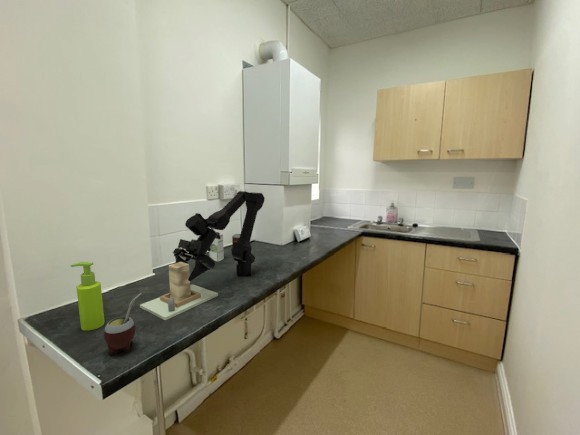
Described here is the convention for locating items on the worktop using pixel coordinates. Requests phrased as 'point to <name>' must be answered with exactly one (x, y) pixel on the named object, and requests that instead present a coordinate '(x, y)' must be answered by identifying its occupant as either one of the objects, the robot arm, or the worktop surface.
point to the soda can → (235, 238)
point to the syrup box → (217, 249)
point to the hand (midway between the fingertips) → (180, 278)
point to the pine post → (179, 281)
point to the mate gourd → (120, 332)
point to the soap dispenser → (89, 299)
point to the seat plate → (177, 303)
